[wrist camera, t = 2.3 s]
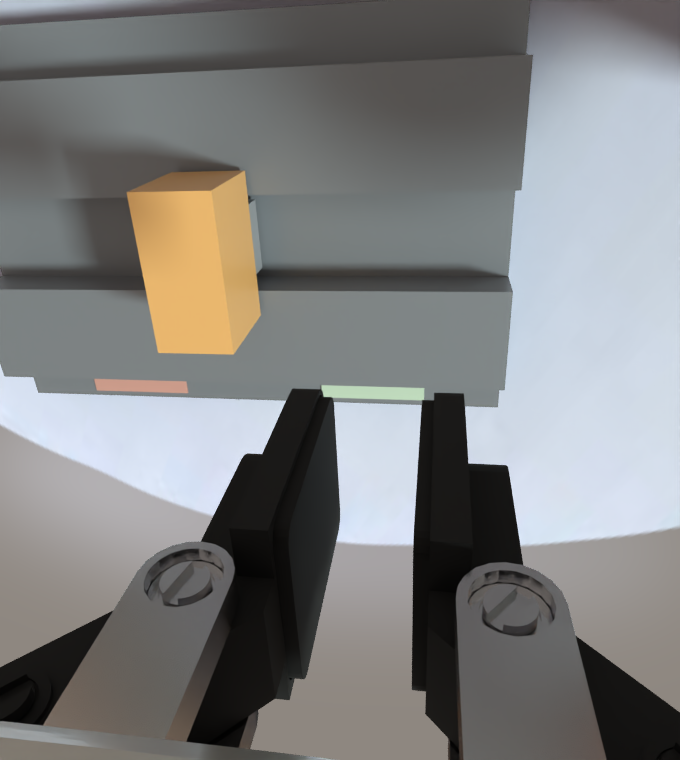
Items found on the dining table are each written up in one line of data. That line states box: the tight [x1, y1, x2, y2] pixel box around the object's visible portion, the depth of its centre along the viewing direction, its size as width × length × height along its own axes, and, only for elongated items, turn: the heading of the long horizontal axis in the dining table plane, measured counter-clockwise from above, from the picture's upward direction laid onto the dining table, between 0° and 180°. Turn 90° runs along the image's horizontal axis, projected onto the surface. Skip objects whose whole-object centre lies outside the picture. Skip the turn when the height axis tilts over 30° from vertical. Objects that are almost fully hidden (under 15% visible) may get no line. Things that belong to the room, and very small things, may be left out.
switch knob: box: [127, 170, 262, 355], centre depth 25 cm, size 3×6×6 cm, turn 3°
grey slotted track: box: [0, 0, 533, 407], centre depth 28 cm, size 24×17×4 cm
